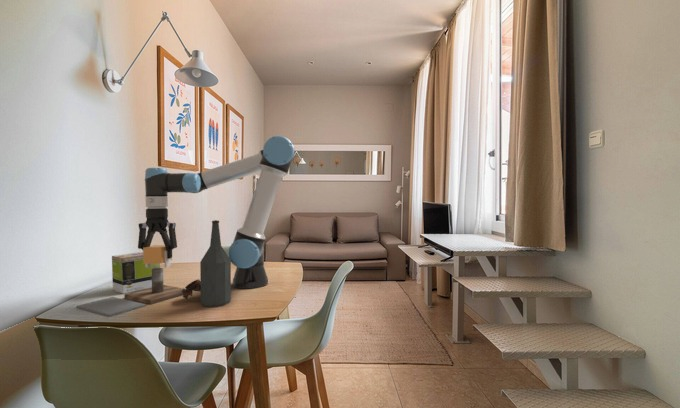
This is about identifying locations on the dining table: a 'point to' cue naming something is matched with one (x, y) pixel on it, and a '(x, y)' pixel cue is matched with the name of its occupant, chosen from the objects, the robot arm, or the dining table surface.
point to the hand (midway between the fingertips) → (158, 266)
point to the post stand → (155, 290)
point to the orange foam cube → (154, 254)
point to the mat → (111, 306)
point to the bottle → (215, 272)
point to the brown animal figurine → (191, 288)
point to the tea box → (131, 273)
